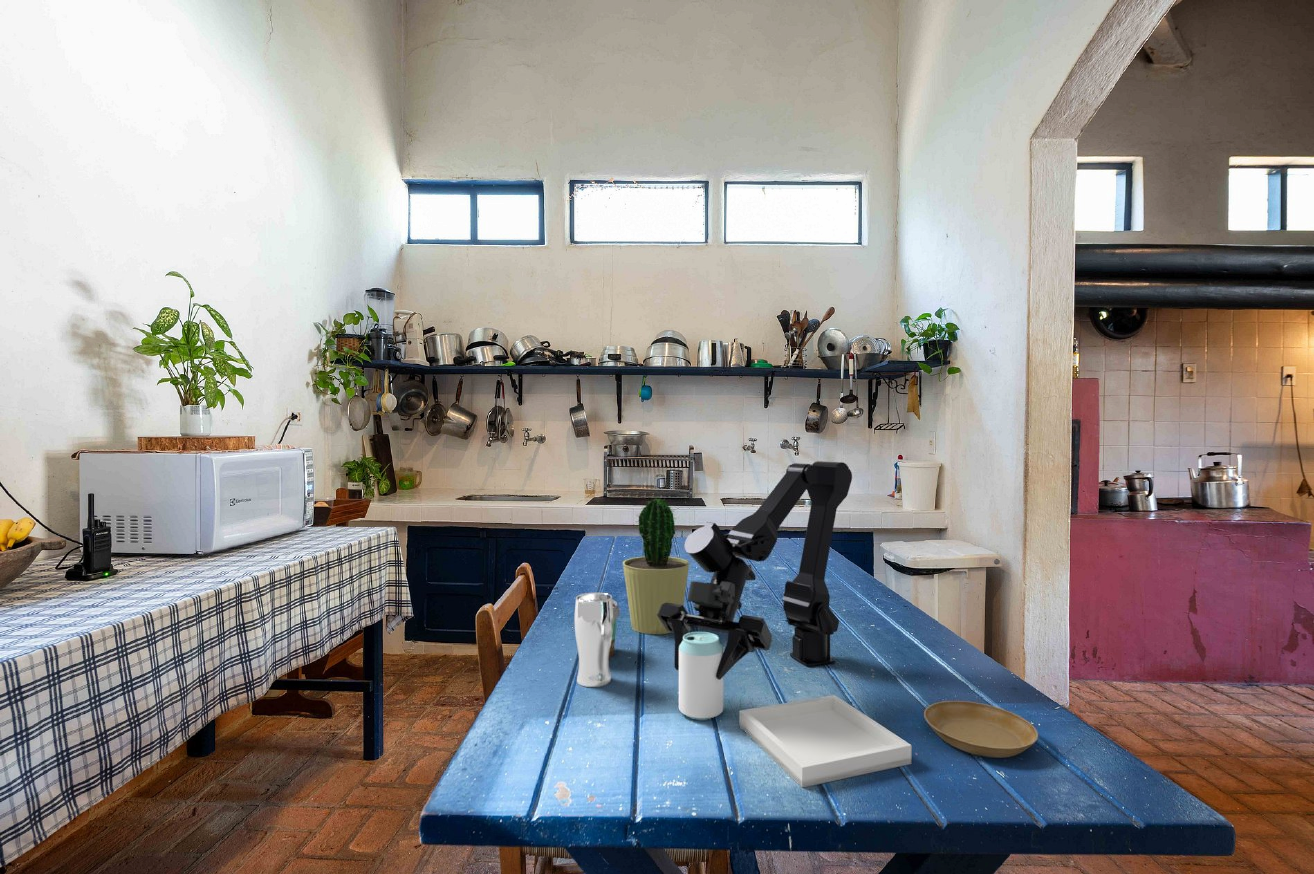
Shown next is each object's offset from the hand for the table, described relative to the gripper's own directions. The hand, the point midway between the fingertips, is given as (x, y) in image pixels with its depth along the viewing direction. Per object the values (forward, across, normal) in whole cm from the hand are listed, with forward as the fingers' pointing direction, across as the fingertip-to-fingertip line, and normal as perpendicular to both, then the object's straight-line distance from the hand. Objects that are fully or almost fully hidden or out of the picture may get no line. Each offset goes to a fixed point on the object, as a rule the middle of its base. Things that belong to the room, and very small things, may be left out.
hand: (696, 673), depth 97 cm
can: (+4, 0, +6) cm, 7 cm away
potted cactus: (-20, -28, +30) cm, 46 cm away
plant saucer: (-5, +39, +15) cm, 42 cm away
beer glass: (+3, -22, +7) cm, 23 cm away
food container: (-5, -28, +15) cm, 32 cm away
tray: (+4, +19, +5) cm, 20 cm away
